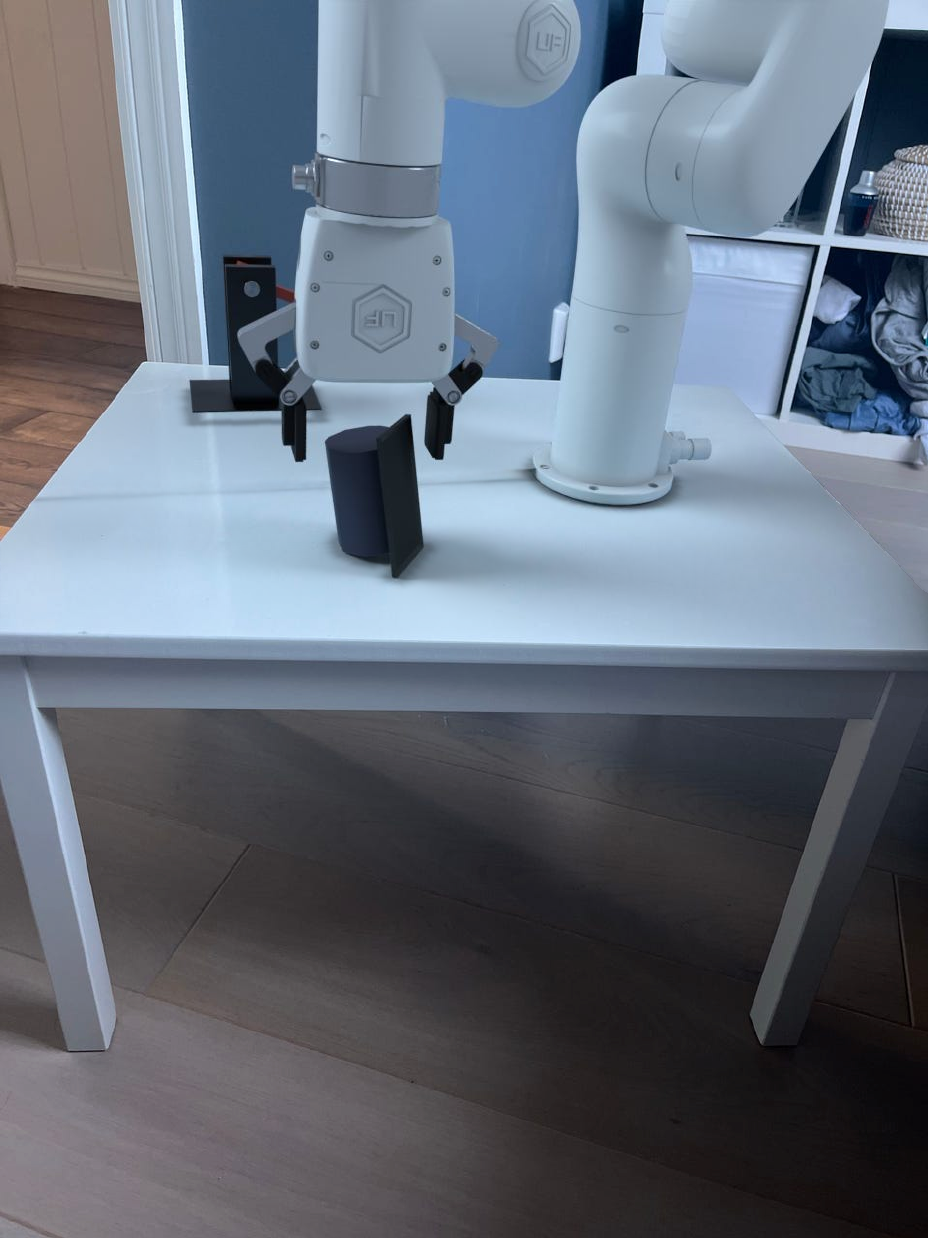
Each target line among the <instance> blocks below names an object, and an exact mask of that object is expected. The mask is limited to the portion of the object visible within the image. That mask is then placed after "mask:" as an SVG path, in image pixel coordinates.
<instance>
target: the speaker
mask: <svg viewBox="0 0 928 1238" xmlns="http://www.w3.org/2000/svg"><path fill="white" fill-rule="evenodd" d="M412 421H413V420H412V413H411V414H410V413H405V414H404V415H403V416H401V417H400V418H399V419H398V420H396V421H395V422H394V423H392V425H390V426H385V425H365V426H364V425H363V426H358V427H353V428H347V429H346V428H345V429H343V430H341V431H339V432H337V433H335V434H331V435H330V436H328V437H327V438H325V441H324V447H325V453H326V460H327V461H326V462H327V469H328V475H329V483H330V489H331V496H332V504H333V510H334V519H335V526H336V533H337V540H338V544H339V546H340V549H341V550H342V553H343V552H344V553H347V554H351V555H354V556H358V557H369V558H370V557H372V558H373V557H377V556H383V555H388V554H389V562H390V570H391V578H395V579H398V578H399V577H400V576H401V574H402V573H403V572H404V571H405V569H406V568H408V566H409V565H410V564H411V563H412V561H413V560H414V559H415V558H416V556H417V555H418V554H419V553H420V552H421V551H422V550H423V549H424V548H425V545H424V544H425V543H424V534H423V525H422V515H421V504H420V495H419V494H420V493H419V485H418V483H419V482H418V474H417V463H416V455H415V452H416V451H415V443H414V433H413V423H412Z"/></svg>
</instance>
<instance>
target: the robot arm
mask: <svg viewBox="0 0 928 1238" xmlns="http://www.w3.org/2000/svg"><path fill="white" fill-rule="evenodd" d="M889 4H890V0H668V1H667V3H666V6H665V10H664V12H663V17H662V22H661V28H660V41H661V45H662V49H663V52H664V55H665V57H666V59H668V61H669V62H670V63H671V64H672V66H673V67H675V69H676V70H678V71H680V72H681V73H683V74H685V75H687V76H689V77H683V76H675V75H667V74H656V73H655V74H653V73H652V74H649V73H648V74H647V73H646V74H636V75H630V76H626V77H623V78H620V79H618V80H615V81H614V82H611V83H610V84H609V85H607V86H606V87H604V88H603V89H602V90H601V91H600V92H599V93H598V94H596V96H595V97H594V98H593V99H592V101H591V102H590V104H589V105H588V107H587V109H586V111H585V113H584V115H583V116H582V117H583V118H582V120H581V123H580V127H579V131H578V135H577V142H576V155H575V156H576V162H575V163H576V164H575V165H576V182H577V184H576V185H577V198H578V201H577V202H578V224H577V225H578V230H577V241H576V242H577V245H576V254H575V256H576V257H575V264H574V272H573V273H574V274H573V281H572V288H571V289H572V290H571V294H570V302H569V309H568V318H567V325H566V334H565V341H564V350H563V357H562V364H561V372H560V373H561V374H560V379H559V387H558V395H557V404H556V409H555V418H554V419H555V420H554V425H553V433H552V435H553V436H552V442H549V443H546V444H545V445H543V446H541V447H540V448H538V449H537V450H535V452H534V454H533V456H532V463H533V465H534V467H535V468H531V470H532V474H533V475H534V477H535V478H536V479H537V480H538V481H539V482H540V483H541V484H542V485H544V486H546V487H547V488H549V489H550V490H552V491H554V492H556V493H558V494H561V495H564V496H566V497H570V498H572V499H576V500H580V501H584V502H589V503H593V504H602V505H614V506H617V505H618V506H619V505H621V506H622V505H623V506H624V505H628V506H630V505H639V504H644V503H650V502H653V501H657V500H659V499H661V498H662V497H664V496H666V495H667V494H668V493H669V492H670V490H671V489H672V484H673V481H674V471H673V469H672V467H671V465H675V464H677V463H678V462H679V461H680V460H687V461H706V460H708V459H710V457H711V454H712V443H711V440H710V439H709V437H708V438H707V437H706V438H705V437H704V438H701V437H700V438H686V434H685V432H684V431H677V430H676V431H669V432H668V431H667V430H666V424H667V419H668V415H669V409H670V404H671V398H672V393H673V388H674V382H675V377H676V372H677V367H678V362H679V361H678V360H679V357H680V352H681V351H680V350H681V346H682V341H683V336H684V332H685V325H686V320H687V315H688V309H689V307H690V302H691V295H692V289H693V278H694V277H693V276H694V271H693V259H692V253H691V248H690V243H689V240H688V236H687V232H686V228H685V227H688V228H692V229H695V230H701V231H705V232H709V233H713V234H717V235H720V236H725V237H731V238H741V239H742V238H743V239H744V238H753V237H756V236H759V235H761V234H763V233H766V232H768V231H769V230H770V229H772V228H773V227H774V226H775V225H777V224H778V223H779V222H780V221H781V220H782V219H783V217H784V216H785V215H786V214H787V213H788V211H789V210H790V208H791V207H792V206H793V205H794V203H795V202H796V200H797V198H798V197H799V195H800V193H801V192H802V190H803V188H804V186H805V185H806V183H807V181H808V180H809V178H810V176H811V174H812V173H813V171H814V169H815V167H816V165H817V163H818V162H819V160H820V158H821V156H822V154H823V153H824V151H825V149H826V147H827V146H828V144H829V142H830V140H831V138H832V137H833V135H834V133H835V131H836V129H837V127H838V126H839V124H840V122H841V120H842V119H843V117H844V115H845V113H846V112H847V110H848V109H849V106H850V104H851V102H852V101H853V99H854V98H855V96H856V93H857V92H858V90H859V88H860V86H861V84H862V83H863V81H864V79H865V77H866V75H867V73H868V70H869V69H870V66H871V64H872V63H873V61H874V58H875V56H876V53H877V51H878V48H879V45H880V43H881V40H882V37H883V33H884V30H885V27H886V22H887V17H888V10H889V7H890V6H889ZM317 23H318V27H317V28H318V29H317V30H318V31H317V33H318V34H317V35H318V36H317V39H318V40H317V42H318V43H317V110H316V116H317V117H316V152H314V159H311V161H310V163H305V164H304V165H298V164H292V168H291V184H292V190H300V191H304V192H305V193H308V194H309V193H310V195H311V196H312V197H313V198H314V200H315V206H311V207H308V208H306V209H305V213H304V217H303V222H302V228H301V233H300V238H299V247H298V253H297V261H296V273H295V282H294V283H295V284H294V291H295V297H294V302H293V303H289V304H287V305H285V306H283V307H281V308H279V309H277V311H275V312H273V313H271V314H269V315H267V316H265V317H263V318H261V319H259V320H257V321H255V322H253V323H251V324H249V325H247V326H245V327H243V328H241V329H240V330H239V331H238V334H237V336H238V340H239V344H240V345H241V347H242V349H243V351H244V353H245V354H246V356H247V358H248V360H249V362H250V364H251V365H252V367H253V369H254V370H255V372H256V375H257V376H258V378H259V379H260V380H262V381H263V382H264V383H265V384H266V385H267V386H268V387H269V388H270V389H271V390H272V391H273V392H274V393H275V394H276V395H277V396H278V397H279V398H280V399H281V404H282V411H281V442H282V445H283V447H289V446H290V449H291V452H292V456H293V459H294V463H304V461H306V460H307V422H308V421H307V419H308V418H307V417H308V416H307V413H308V410H307V409H306V405H305V402H304V400H303V397H302V396H303V395H304V393H305V392H306V391H307V390H308V389H309V388H310V387H311V386H312V387H313V385H314V384H315V382H316V381H317V382H324V383H341V384H343V383H344V384H425V383H431V384H432V385H433V387H432V391H429V394H428V395H427V397H426V412H425V424H424V437H423V438H424V439H423V443H424V446H425V449H426V450H427V451H428V453H429V455H430V457H431V458H432V459H434V460H435V461H443V460H444V459H445V458H444V457H445V447H446V445H451V444H452V440H453V432H454V431H453V430H454V420H455V419H454V417H455V407H456V406H457V405H459V404H460V403H461V401H462V399H463V396H464V395H465V394H466V393H467V392H468V391H469V390H470V389H471V388H472V387H473V386H475V385H476V383H478V382H479V381H480V380H481V379H482V377H483V376H484V375H483V374H484V370H485V369H486V367H488V366H489V363H490V362H491V360H492V358H493V357H494V355H495V354H496V352H497V350H498V349H499V347H500V341H499V339H497V337H496V336H494V335H493V334H492V332H490V331H488V330H486V329H485V328H483V327H482V326H479V325H478V324H476V323H475V322H473V321H471V320H469V319H468V318H466V317H465V316H463V315H461V314H460V313H458V312H457V311H455V307H456V304H455V303H456V301H455V300H456V296H455V294H456V293H455V291H456V289H455V285H456V284H455V255H454V241H453V231H452V225H451V224H452V223H451V222H450V220H447V219H445V218H444V217H442V216H439V206H440V191H441V179H442V163H443V149H444V138H445V137H444V135H445V123H446V109H447V108H446V107H447V100H448V99H450V98H452V99H456V100H463V101H466V102H468V103H473V104H478V105H479V104H480V105H484V106H491V107H496V108H505V109H519V108H525V107H531V106H533V105H536V104H538V103H540V102H543V101H545V100H546V99H548V98H550V97H551V96H553V94H555V93H556V92H557V91H558V90H559V89H560V88H561V87H562V86H563V85H564V84H565V82H567V80H568V78H569V77H570V75H571V73H572V72H573V70H574V67H575V65H576V63H577V60H578V56H579V54H580V49H581V39H582V30H581V29H582V28H581V27H582V26H581V20H580V15H579V12H578V8H577V5H576V4H575V1H574V0H318V22H317ZM290 332H292V343H293V350H294V352H295V355H296V357H294V359H293V360H292V361H291V362H290V363H289V364H288V366H286V368H285V369H284V370H283V369H282V368H281V367H280V366H279V364H278V365H277V364H276V363H275V362H274V361H273V360H271V359H270V357H269V356H268V354H267V352H266V350H265V345H266V344H267V343H268V342H270V341H272V340H274V339H276V338H278V339H279V338H280V337H282V336H283V335H286V334H287V333H290ZM455 336H456V337H457V338H459V339H461V340H463V341H464V342H465V343H467V344H469V345H470V349H469V351H468V353H467V356H466V357H465V358H464V359H462V360H461V361H460V362H459V363H457V365H456V366H455V367H453V368H452V365H453V359H454V347H455ZM451 369H452V370H451Z"/></svg>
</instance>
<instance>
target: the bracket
mask: <svg viewBox="0 0 928 1238" xmlns="http://www.w3.org/2000/svg"><path fill="white" fill-rule="evenodd" d="M237 261H241V262H244V263H246V264H249V265H238V264H237ZM222 272H223V273H222V274H223V290H224V291H223V293H224V308H225V309H224V311H225V326H226V327H225V328H226V329H225V330H226V344H227V345H226V346H227V365H228V379H189V389H190V401H191V412H192V413H193V414H194V413H196V414H197V413H202V414H203V413H205V414H206V413H247V412H248V413H250V412H251V413H252V412H254V413H255V412H282V404H281V399H280V398H279V397H278V396H277V395H276V394H275V393H274V392H273V391H272V390H271V389H270V388H269V387H268V386H267V385H266V384H265V383H264V382H263V381H262V380H260V379H259V378H258V376H257V375H256V372H255V370H254V369H253V367H252V365H251V364H250V362H249V360H248V358H247V356H246V354H245V353H244V351H243V349H242V347H241V345H240V344H239V340H238V336H237V334H238V331H239V330H240V329H241V328H243V327H245V326H247V325H249V324H251V323H253V322H255V321H257V320H259V319H261V318H263V317H265V316H267V315H269V314H271V313H273V312H275V311H277V310H278V306H277V305H278V304H277V298H276V284H277V269H276V265H274V264H272V257H271V255H269V254H227V253H226V254H222ZM278 339H279V337H278V338H276V339H274V340H272V341H270V342H268V343H267V344H266V345H265V350H266V352H267V354H268V356H269V357H270V359H271V360H273V361H274V362H275V363H276V364H277V365H278V366H279V341H278ZM302 397H303V400H304V402H305V405H306V409H307V411H322V407H321V405H320V403H319V399H318V398H317V395H316V392H315V389H314V387H313V385H312V386H311V387H310V388H309V389H308V390H307V391H306V392H305V393H304V395H303V396H302Z"/></svg>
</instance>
